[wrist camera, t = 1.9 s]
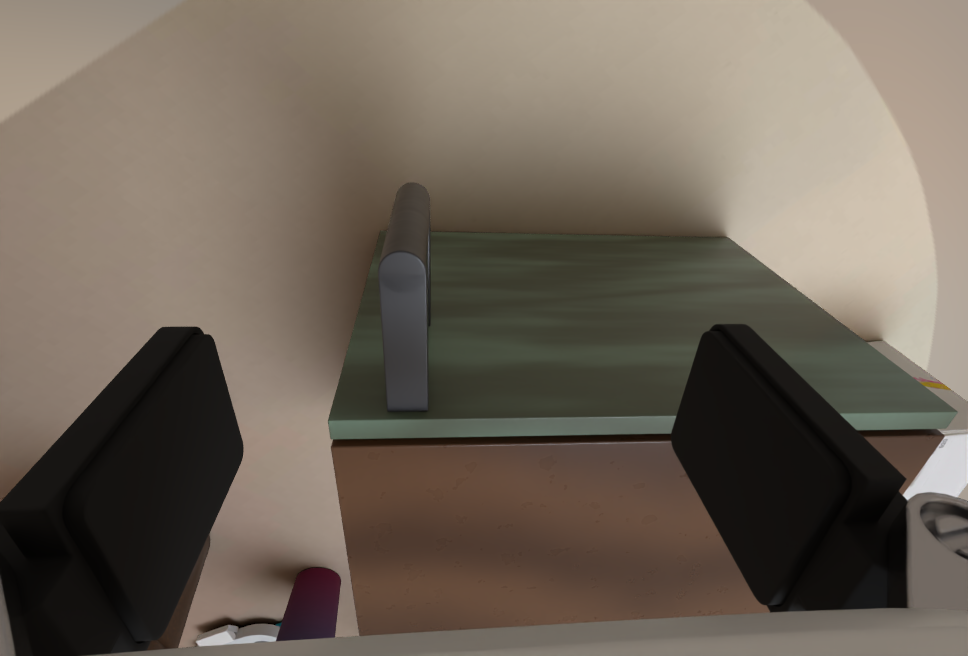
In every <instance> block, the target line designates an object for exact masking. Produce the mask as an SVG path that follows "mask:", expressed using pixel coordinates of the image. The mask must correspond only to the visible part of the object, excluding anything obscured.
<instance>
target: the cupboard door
mask: <svg viewBox="0 0 968 656" xmlns="http://www.w3.org/2000/svg"><path fill="white" fill-rule="evenodd" d="M715 324H746V325H748V326H749V327H751V328H752V329H753V330H754V331H755V332H756V333H757V334H758V335H759V336H760V337H761V338H762V339H763V340H764V341H765V342H766V343H767V344H768V345H769V346H770V347H771V348H772V349H773V350H774V351H775V352H776V353H777V354H778V355H780V356H781V357H782V358H783V359H784V360H785V361H786V362H787V363H788V364H789V365H790V366H791V367H792V368H793V369H794V370H795V371H796V372H797V373H798V374H799V375H800V376H801V377H802V378H803V379H804V380H805V381H806V382H807V383H808V384H809V385H810V386H811V387H813V388H814V389H815V390H816V391H817V392H818V393H819V394H820V395H821V396H822V397H823V398H824V399H825V400H826V401H827V402H828V403H829V404H830V405H831V406H832V407H833V408H834V409H835V410H836V411H837V412H838V413H839V414H840V415H841V416H842V417H843V418H844V419H845V420H847V421H848V422H849V423H850V424H851V425H852V426H853V427H854V428H855V429H856V430H903V429H946V428H947V427H948V426H949V424H950V423H951V421H952V420H953V419H954V417H955V416H956V414H957V413H958V411H957V410H955V409H954V408H953V407H951V406H950V405H949V404H947V403H946V402H945V401H943V400H942V399H941V398H939V397H938V396H937V395H935V394H934V393H933V392H931V391H930V390H929V389H928V388H926V387H925V386H924V385H922V384H921V383H920V382H918V381H917V380H916V379H914V378H913V377H912V376H910V375H909V374H908V373H906V372H905V371H904V370H902V369H901V368H900V367H899V366H897V365H896V364H895V363H893V362H892V361H891V360H889V359H888V358H887V357H885V356H884V355H883V354H881V353H880V352H879V351H877V350H876V349H875V348H873V347H872V346H871V345H870V344H868V343H867V342H866V341H864V340H863V339H862V338H860V337H859V336H858V335H856V334H855V333H854V332H852V331H851V330H850V329H848V328H847V327H846V326H844V325H843V324H842V323H841V322H839V321H838V320H837V319H835V318H834V317H833V316H831V315H830V314H829V313H827V312H826V311H825V310H823V309H822V308H821V307H819V306H818V305H817V304H815V303H814V302H813V301H812V300H810V299H809V298H808V297H806V296H805V295H804V294H802V293H801V292H800V291H798V290H797V289H796V288H794V287H793V286H792V285H790V284H789V283H788V282H786V281H785V280H784V279H783V278H781V277H780V276H779V275H777V274H776V273H775V272H773V271H772V270H771V269H769V268H768V267H767V266H765V265H764V264H763V263H761V262H760V261H759V260H757V259H756V258H755V257H754V256H752V255H751V254H750V253H748V252H747V251H746V250H744V249H743V248H742V247H740V246H739V245H738V244H736V243H735V242H734V241H732V240H731V239H730V238H722V237H671V236H620V235H570V234H519V233H469V232H431V228H430V195H429V193H428V191H427V189H426V188H425V187H424V186H422V185H421V184H418V183H414V182H410V183H406V184H404V185H402V186H401V187H400V188H399V189H398V191H397V193H396V197H395V201H394V205H393V209H392V213H391V217H390V221H389V225H388V230H387V231H380V234H379V238H378V241H377V245H376V249H375V252H374V256H373V259H372V263H371V267H370V270H369V274H368V278H367V281H366V285H365V288H364V292H363V296H362V299H361V303H360V307H359V310H358V314H357V317H356V321H355V325H354V328H353V332H352V336H351V339H350V343H349V346H348V350H347V354H346V357H345V361H344V365H343V368H342V372H341V375H340V379H339V383H338V386H337V390H336V393H335V397H334V401H333V404H332V408H331V412H330V415H329V419H328V424H329V431H330V438H331V439H384V438H442V437H500V436H557V435H615V434H671V432H672V428H673V425H674V422H675V419H676V416H677V412H678V409H679V406H680V403H681V400H682V396H683V393H684V390H685V387H686V383H687V380H688V377H689V374H690V371H691V367H692V364H693V361H694V358H695V355H696V351H697V348H698V345H699V342H700V339H701V336H702V334H703V333H704V332H706V331H709V330H710V329H711V327H712V326H713V325H715Z"/></svg>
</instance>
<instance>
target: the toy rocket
mask: <svg viewBox="0 0 968 656" xmlns="http://www.w3.org/2000/svg"><path fill="white" fill-rule="evenodd" d="M281 623H282V622H281ZM281 623H278V624H276V626H275V625H271V624H253V625H249V626H246V627H242V628H239V629H238V627H237V626H233V625H226V626H223V627H220V628H217V629H214V630H212V631H209V632H206V633H203V634H200V635H198V638H197V640H196V643H197V644H198V645H199V646H212V645H227V644H243V643H259V642H274V641H276V639H277V636H278V632H279V629H280V626H281Z"/></svg>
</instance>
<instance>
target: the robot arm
mask: <svg viewBox="0 0 968 656" xmlns="http://www.w3.org/2000/svg"><path fill="white" fill-rule="evenodd" d="M671 444H672V448H673V450H674V452H675V454H676V456H677V458H678V459H679V461H680V463H681V465H682V467H683V468H684V470H685V472H686V474H687V476H688V477H689V479H690V481H691V483H692V485H693V486H694V488H695V490H696V492H697V494H698V496H699V497H700V499H701V501H702V503H703V505H704V506H705V508H706V510H707V512H708V514H709V515H710V517H711V519H712V521H713V523H714V524H715V526H716V528H717V530H718V532H719V534H720V535H721V537H722V539H723V541H724V543H725V544H726V546H727V548H728V550H729V552H730V553H731V555H732V557H733V559H734V561H735V563H736V564H737V566H738V568H739V570H740V572H741V573H742V575H743V577H744V579H745V581H746V582H747V584H748V586H749V588H750V590H751V591H752V593H753V595H754V597H755V598H756V600H757V601H758V602H759V603H760V604H762V605H767V607H768V609H769V611H770V613H753V614H734V615H715V616H696V617H677V618H658V619H640V620H621V621H603V622H586V623H569V624H551V625H534V626H517V627H500V628H483V629H466V630H449V631H433V632H416V633H399V634H384V635H368V636H352V637H337V638H321V639H305V640H290V641H274V642H259V643H243V644H227V645H212V646H198V647H186V648H174V649H161V650H149V651H147V649H148V647H149V645H150V642H151V641H153V640H158V639H159V638H160V637H161V636H162V635H163V634H164V632H165V630H166V628H167V626H168V624H169V622H170V620H171V617H172V615H173V613H174V611H175V608H176V606H177V604H178V602H179V600H180V597H181V595H182V593H183V591H184V588H185V586H186V584H187V582H188V580H189V577H190V575H191V573H192V571H193V568H194V566H195V564H196V562H197V560H198V557H199V555H200V553H201V551H202V548H203V546H204V544H205V542H206V540H207V537H208V535H209V533H210V531H211V528H212V526H213V524H214V522H215V520H216V517H217V515H218V513H219V511H220V508H221V506H222V504H223V502H224V500H225V497H226V495H227V493H228V491H229V488H230V486H231V484H232V482H233V479H234V477H235V475H236V473H237V471H238V468H239V466H240V464H241V461H242V458H243V441H242V438H241V434H240V431H239V427H238V423H237V420H236V416H235V413H234V409H233V406H232V402H231V399H230V395H229V392H228V388H227V384H226V381H225V377H224V374H223V370H222V367H221V363H220V360H219V356H218V352H217V349H216V345H215V342H214V339H213V338H212V336H211V335H209V334H204V333H203V331H202V330H201V329H200V328H198V327H162V328H160V329H159V330H158V331H157V332H156V333H155V334H154V335H153V336H152V337H151V338H150V340H149V341H148V342H147V343H146V344H145V345H144V346H143V347H142V348H141V349H140V350H139V352H138V353H137V354H136V355H135V356H134V357H133V358H132V359H131V360H130V361H129V362H128V364H127V365H126V366H125V367H124V368H123V369H122V370H121V371H120V372H119V373H118V374H117V376H116V377H115V378H114V379H113V380H112V381H111V382H110V383H109V384H108V385H107V386H106V388H105V389H104V390H103V391H102V392H101V393H100V394H99V395H98V396H97V397H96V398H95V400H94V401H93V402H92V403H91V404H90V405H89V406H88V407H87V408H86V409H85V410H84V412H83V413H82V414H81V415H80V416H79V417H78V418H77V419H76V420H75V421H74V423H73V424H72V425H71V426H70V427H69V428H68V429H67V430H66V431H65V432H64V433H63V435H62V436H61V437H60V438H59V439H58V440H57V441H56V442H55V443H54V444H53V445H52V447H51V448H50V449H49V450H48V451H47V452H46V453H45V454H44V455H43V456H42V457H41V459H40V460H39V461H38V462H37V463H36V464H35V465H34V466H33V467H32V468H31V469H30V471H29V472H28V473H27V474H26V475H25V476H24V477H23V478H22V479H21V480H20V481H19V483H18V484H17V485H16V486H15V487H14V488H13V489H12V490H11V491H10V492H9V493H8V495H7V496H6V497H5V498H4V499H3V500H2V501H1V502H0V656H968V501H966V500H963V499H960V498H957V497H954V496H951V495H947V494H941V493H934V492H926V493H917V494H916V495H914V496H913V497H911V498H910V499H909V500H907V499H906V498H905V497H904V496H903V495H902V494H901V493H900V492H899V490H900V488H901V487H902V485H903V484H904V482H905V481H906V478H905V477H904V476H903V475H902V474H901V473H900V472H899V471H898V470H897V469H896V468H895V467H894V466H893V465H892V464H891V463H890V462H889V461H888V460H887V459H886V458H885V457H884V456H883V455H882V454H881V453H880V452H878V451H877V450H876V449H875V448H874V447H873V446H872V445H871V444H870V443H869V442H868V441H867V440H866V439H865V438H864V437H863V436H862V435H861V434H860V433H859V432H858V431H857V430H856V429H855V428H854V427H853V426H852V425H851V424H850V423H849V422H848V421H847V420H845V419H844V418H843V417H842V416H841V415H840V414H839V413H838V412H837V411H836V410H835V409H834V408H833V407H832V406H831V405H830V404H829V403H828V402H827V401H826V400H825V399H824V398H823V397H822V396H821V395H820V394H819V393H818V392H817V391H816V390H815V389H814V388H813V387H811V386H810V385H809V384H808V383H807V382H806V381H805V380H804V379H803V378H802V377H801V376H800V375H799V374H798V373H797V372H796V371H795V370H794V369H793V368H792V367H791V366H790V365H789V364H788V363H787V362H786V361H785V360H784V359H783V358H782V357H781V356H780V355H778V354H777V353H776V352H775V351H774V350H773V349H772V348H771V347H770V346H769V345H768V344H767V343H766V342H765V341H764V340H763V339H762V338H761V337H760V336H759V335H758V334H757V333H756V332H755V331H754V330H753V329H752V328H751V327H749V326H748V325H746V324H715V325H713V326H712V327H711V329H710V330H709V331H706V332H704V333H703V334H702V336H701V339H700V342H699V345H698V348H697V351H696V355H695V358H694V361H693V364H692V367H691V371H690V374H689V377H688V380H687V383H686V387H685V390H684V393H683V396H682V400H681V403H680V406H679V409H678V412H677V416H676V419H675V422H674V425H673V428H672V432H671Z"/></svg>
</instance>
